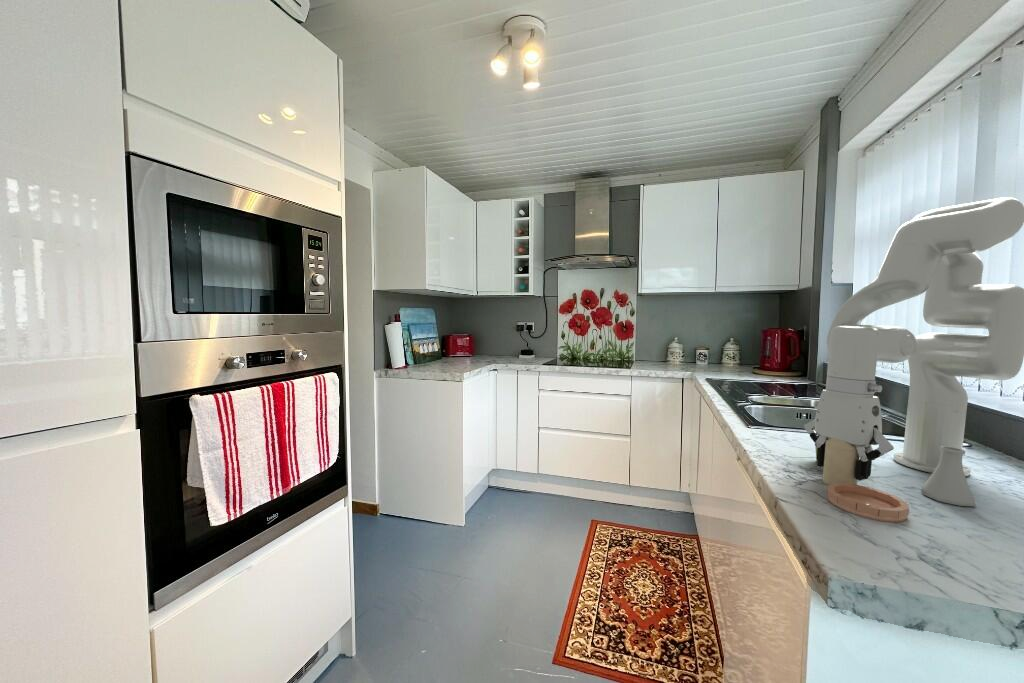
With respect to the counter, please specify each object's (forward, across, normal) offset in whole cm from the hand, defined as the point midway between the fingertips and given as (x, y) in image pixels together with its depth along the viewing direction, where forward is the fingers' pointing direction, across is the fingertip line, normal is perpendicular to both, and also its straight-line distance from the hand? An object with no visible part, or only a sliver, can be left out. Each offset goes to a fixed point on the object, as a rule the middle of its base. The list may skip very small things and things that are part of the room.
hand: (841, 471), depth 84 cm
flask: (+3, -11, -13) cm, 17 cm away
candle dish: (+3, -8, +7) cm, 11 cm away
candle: (+3, 0, 0) cm, 3 cm away
